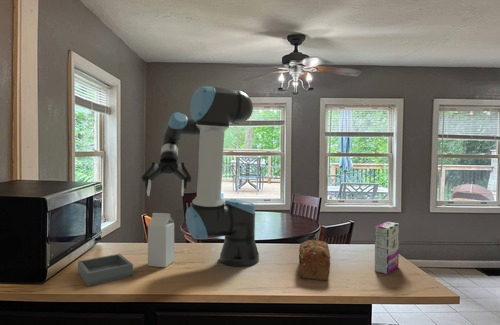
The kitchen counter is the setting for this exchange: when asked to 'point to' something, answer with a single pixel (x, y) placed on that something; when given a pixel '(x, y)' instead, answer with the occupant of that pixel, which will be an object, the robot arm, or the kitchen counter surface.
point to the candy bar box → (386, 247)
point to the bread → (314, 260)
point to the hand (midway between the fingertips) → (165, 194)
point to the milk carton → (160, 240)
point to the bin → (104, 269)
